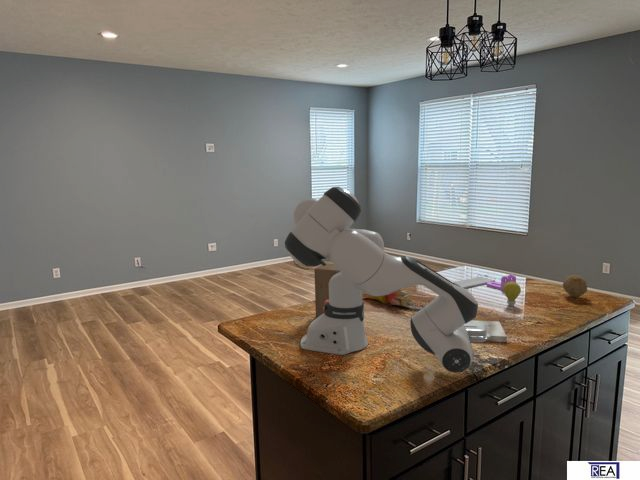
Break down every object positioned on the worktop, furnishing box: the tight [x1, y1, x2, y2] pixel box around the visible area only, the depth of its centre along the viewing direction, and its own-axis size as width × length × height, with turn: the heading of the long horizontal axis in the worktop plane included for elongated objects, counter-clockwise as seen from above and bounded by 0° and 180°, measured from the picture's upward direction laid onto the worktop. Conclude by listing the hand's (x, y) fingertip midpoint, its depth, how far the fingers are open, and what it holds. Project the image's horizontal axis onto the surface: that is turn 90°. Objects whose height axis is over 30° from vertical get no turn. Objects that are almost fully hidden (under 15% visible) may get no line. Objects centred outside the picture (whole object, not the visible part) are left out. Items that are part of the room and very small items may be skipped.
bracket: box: [486, 274, 517, 291], centre depth 209 cm, size 13×6×7 cm, turn 31°
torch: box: [368, 289, 415, 308], centre depth 192 cm, size 8×8×25 cm
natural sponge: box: [562, 274, 588, 299], centre depth 192 cm, size 9×9×10 cm
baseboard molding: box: [452, 274, 496, 290], centre depth 217 cm, size 31×3×12 cm
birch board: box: [470, 319, 507, 343], centre depth 157 cm, size 24×14×2 cm, turn 78°
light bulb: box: [502, 282, 522, 307], centre depth 183 cm, size 7×7×10 cm
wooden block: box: [313, 263, 340, 319], centre depth 176 cm, size 10×10×20 cm
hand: (449, 320), depth 140 cm, fingers open, 8 cm apart
